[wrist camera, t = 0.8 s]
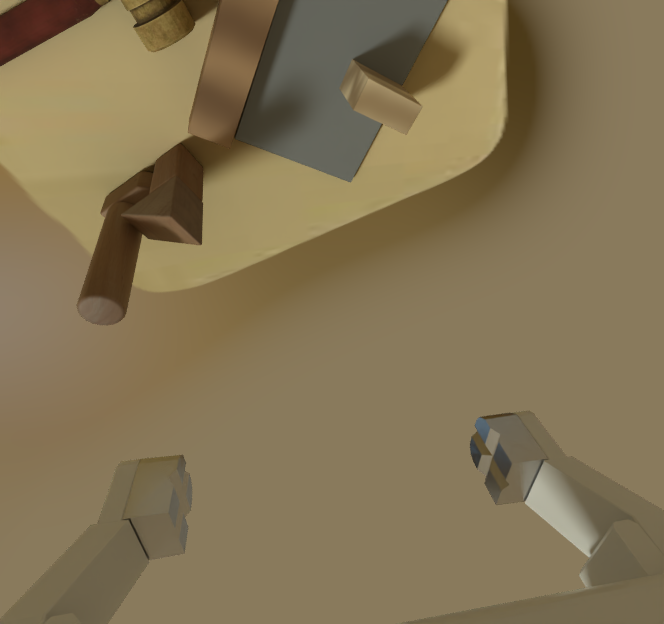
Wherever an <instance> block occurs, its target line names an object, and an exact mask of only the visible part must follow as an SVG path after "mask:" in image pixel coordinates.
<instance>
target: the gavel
mask: <svg viewBox="0 0 664 624" xmlns="http://www.w3.org/2000/svg"><path fill="white" fill-rule="evenodd" d="M109 1H111V0H26V1H25V2H23V3H21V4H20V5H18V6H16V7H15V8H13V9H11V10H9V11H8V12H6V13H4V14H3V15H1V16H0V66H2V65H4V64H5V63H7V62H9V61H11V60H13V59H14V58H16V57H18V56H20V55H22V54H23V53H25V52H27V51H29V50H31V49H32V48H34V47H36V46H38V45H40V44H41V43H43V42H45V41H47V40H48V39H50V38H52V37H54V36H56V35H57V34H59V33H61V32H63V31H65V30H66V29H68V28H70V27H72V26H74V25H75V24H77V23H79V22H81V21H83V20H84V19H86V18H88V17H90V16H92V15H93V14H94V13H95V12H96V11H97V10H98V9H99V8H100V7H101V6H102V5H104V4H106V3H108V2H109ZM121 1H122V3H123V5H124V6H125V8H126V9H127V11H129V10H130V12H131V14H132V15H133V17H134V18H135V20H136V22H137V23H136V24H135V25H134V27H133V28H134V29H135V31H136V32H137V34H138V36H139V37H140V39H141V40H142V42H143V43H144V45H145V47H146V48H147V50H148V51H151V52H156V51H160V50H162V49H164V48H167V47H169V46H171V45H172V44H174V43H176V42H178V41H179V40H181V39H182V38H184V37H185V36H186V35H188V34H189V33H190V32H191V31H192V30H193V28H194V26H195V22H194V21H193V19H192V17H191V15H190V13H189V11H188V9H187V7H186V6H185V4H184V2H183V0H121Z"/></svg>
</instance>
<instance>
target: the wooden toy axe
mask: <svg viewBox="0 0 664 624" xmlns="http://www.w3.org/2000/svg"><path fill="white" fill-rule="evenodd" d="M202 198H203V167H202V166H201V165H200V164H199V163H198V162H197V160H196V159H195V158H194V157H193V156H192V155H191V154H190V153H189V151H188V150H187V149H186V148H185V147H184V146H183V145H182V144H178V145H177V146H175V147H174V148H172V149H171V150H170V151H168V152H167V153H165V154H164V155H163V156H161V157H160V158H159V159H157V160H156V163H155V168H154V173H152V172H145V171H142V172H139V173H138V174H137V175H135V176H134V177H132V178H131V179H130V180H128V181H127V182H126V183H124V184H123V185H121V186H120V187H119V188H117V189H116V190H114V191H113V192H112V193H110V194H109V195H108V196H106V198H105V201H104V204H103V207H102V210H101V215H102V216H103V217H105V220H104V223H103V226H102V229H101V232H100V235H99V238H98V241H97V245H96V248H95V251H94V254H93V257H92V260H91V263H90V266H89V269H88V272H87V275H86V278H85V281H84V284H83V288H82V290H81V294H80V297H79V300H78V303H77V309H78V312H79V314H80V315H81V317H82V318H84V319H85V320H86V321H89V322H91V323H93V324H97V325H112V324H115V323H118V322H119V321H121V320H122V319H123V318H124V317H125V314H126V312H127V307H128V302H129V297H130V292H131V287H132V282H133V277H134V272H135V267H136V262H137V258H138V253H139V248H140V243H141V238H142V234H143V235H145V236H146V237H147V238H148V239H152V240H161V241H169V242H177V243H186V244H194V245H201V244H202V221H203V202H202Z"/></svg>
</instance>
